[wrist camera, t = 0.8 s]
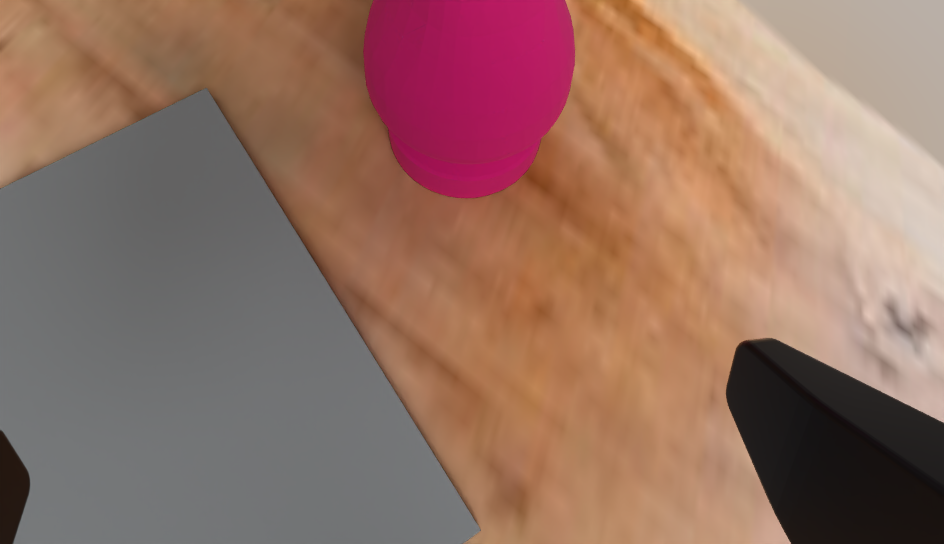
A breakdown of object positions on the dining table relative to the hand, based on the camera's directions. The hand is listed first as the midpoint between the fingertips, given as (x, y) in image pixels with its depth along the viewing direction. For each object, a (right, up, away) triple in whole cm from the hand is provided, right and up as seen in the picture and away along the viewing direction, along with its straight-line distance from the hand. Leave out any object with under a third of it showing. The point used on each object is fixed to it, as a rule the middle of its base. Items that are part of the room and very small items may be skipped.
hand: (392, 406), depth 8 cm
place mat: (-10, -3, +14) cm, 17 cm away
